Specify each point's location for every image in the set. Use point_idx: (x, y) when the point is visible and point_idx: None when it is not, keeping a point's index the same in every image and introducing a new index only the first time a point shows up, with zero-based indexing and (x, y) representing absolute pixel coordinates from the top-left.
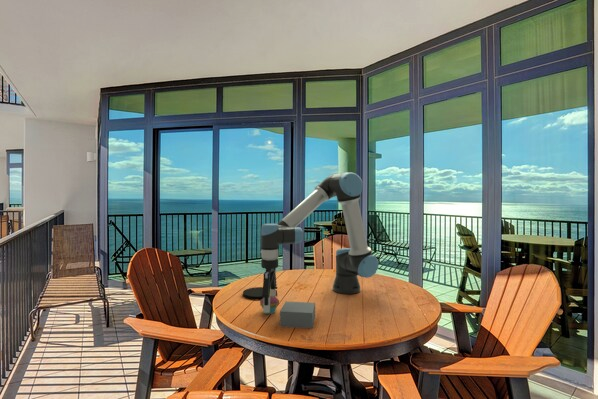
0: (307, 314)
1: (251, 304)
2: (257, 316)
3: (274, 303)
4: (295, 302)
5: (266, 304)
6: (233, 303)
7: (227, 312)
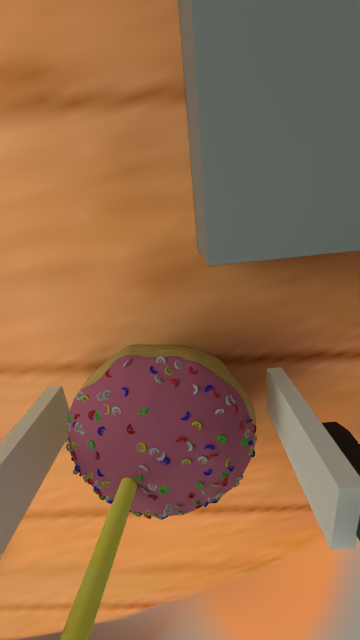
0: None
1: (61, 507)
2: (257, 422)
3: (226, 381)
4: (235, 70)
5: (346, 439)
6: (84, 575)
7: (222, 558)
